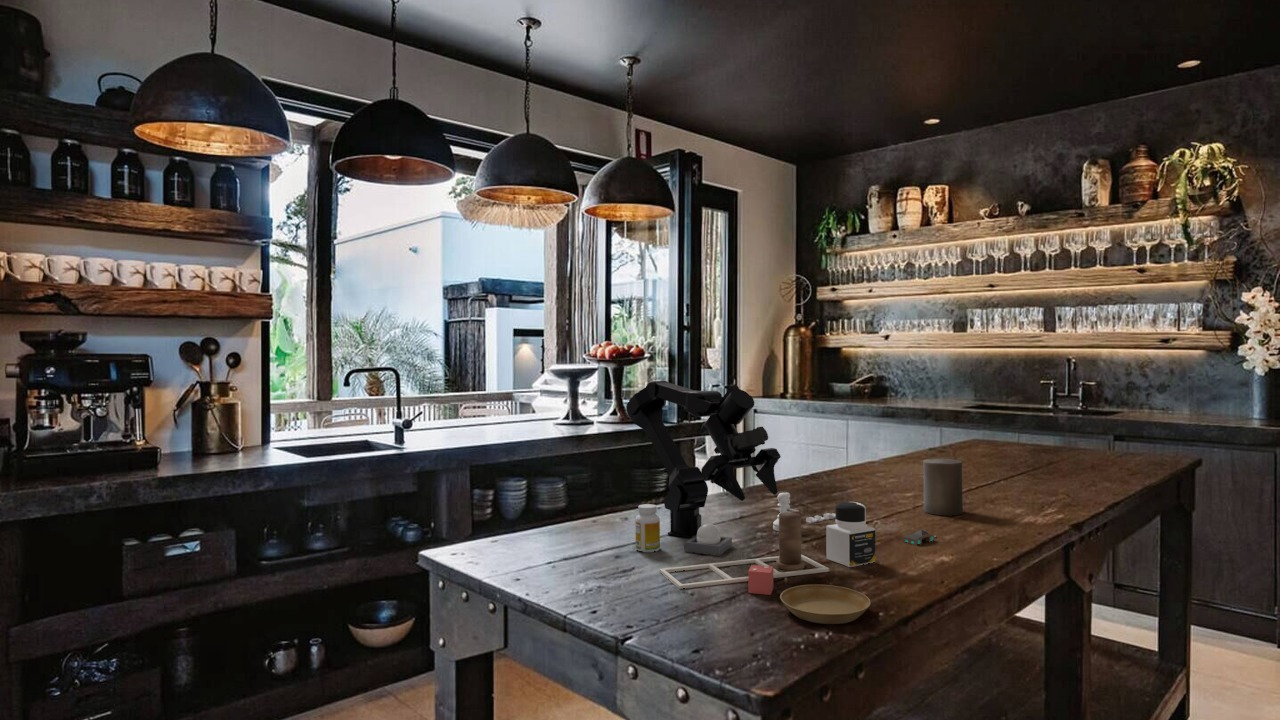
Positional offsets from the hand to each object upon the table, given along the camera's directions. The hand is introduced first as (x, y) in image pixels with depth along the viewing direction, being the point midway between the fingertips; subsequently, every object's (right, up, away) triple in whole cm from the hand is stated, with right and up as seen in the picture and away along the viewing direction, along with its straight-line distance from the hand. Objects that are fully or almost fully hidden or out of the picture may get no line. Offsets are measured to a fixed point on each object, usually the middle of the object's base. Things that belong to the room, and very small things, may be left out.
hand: (760, 496), depth 158 cm
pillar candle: (+55, -12, +42) cm, 70 cm away
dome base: (-10, -13, +8) cm, 18 cm away
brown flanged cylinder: (+5, -13, -6) cm, 15 cm away
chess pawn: (+10, -13, +25) cm, 29 cm away
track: (-5, -13, -9) cm, 17 cm away
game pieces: (+27, -13, +29) cm, 42 cm away
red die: (-3, -13, -20) cm, 25 cm away
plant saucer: (+6, -14, -32) cm, 35 cm away
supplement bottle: (-23, -13, +8) cm, 28 cm away
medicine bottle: (+18, -13, -2) cm, 23 cm away
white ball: (-10, -13, +8) cm, 18 cm away
